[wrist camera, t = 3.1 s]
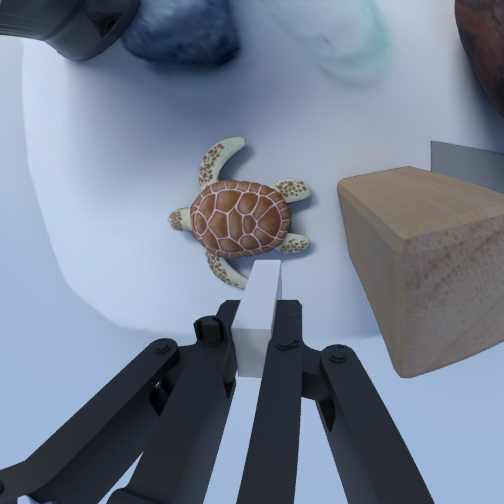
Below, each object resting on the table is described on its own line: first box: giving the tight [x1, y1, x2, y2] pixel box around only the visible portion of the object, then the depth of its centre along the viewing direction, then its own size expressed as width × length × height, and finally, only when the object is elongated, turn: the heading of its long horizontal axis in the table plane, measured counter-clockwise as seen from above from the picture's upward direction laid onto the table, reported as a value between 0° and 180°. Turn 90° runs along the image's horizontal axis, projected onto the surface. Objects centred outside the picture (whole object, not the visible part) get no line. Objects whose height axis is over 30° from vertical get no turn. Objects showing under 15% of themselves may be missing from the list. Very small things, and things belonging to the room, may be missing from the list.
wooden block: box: [337, 166, 504, 378], centre depth 20 cm, size 10×10×20 cm
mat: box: [431, 141, 504, 194], centre depth 26 cm, size 18×22×1 cm
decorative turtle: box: [168, 137, 311, 288], centre depth 30 cm, size 18×17×5 cm
